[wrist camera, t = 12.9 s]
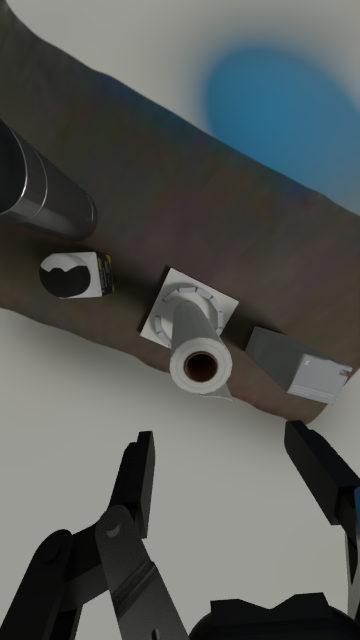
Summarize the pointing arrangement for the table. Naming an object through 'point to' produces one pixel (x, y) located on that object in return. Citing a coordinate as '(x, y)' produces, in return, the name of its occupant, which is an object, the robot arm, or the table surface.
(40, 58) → the table surface
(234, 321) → the table surface
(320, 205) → the table surface
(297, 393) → the skincare box
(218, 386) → the paper towel roll
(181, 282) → the collar socket
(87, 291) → the medicine bottle
